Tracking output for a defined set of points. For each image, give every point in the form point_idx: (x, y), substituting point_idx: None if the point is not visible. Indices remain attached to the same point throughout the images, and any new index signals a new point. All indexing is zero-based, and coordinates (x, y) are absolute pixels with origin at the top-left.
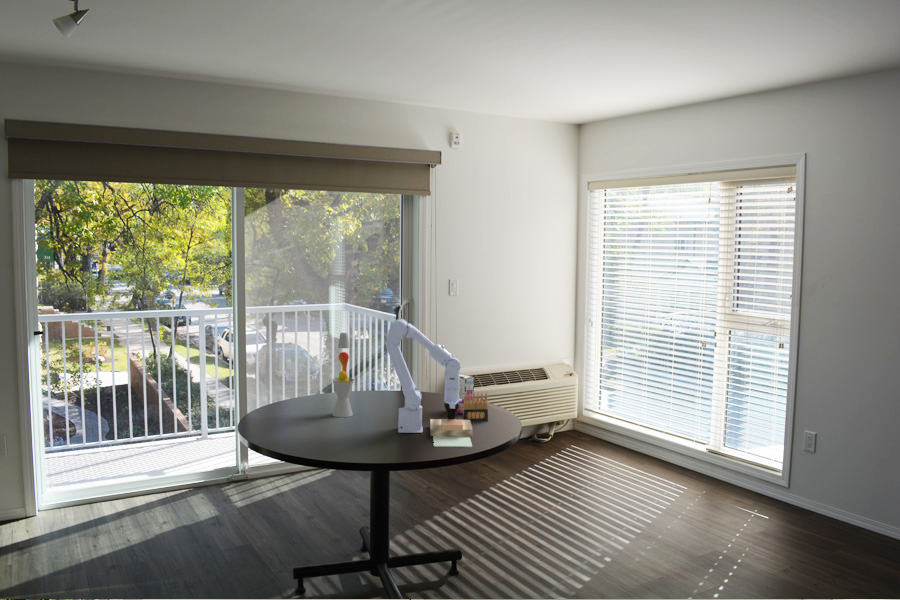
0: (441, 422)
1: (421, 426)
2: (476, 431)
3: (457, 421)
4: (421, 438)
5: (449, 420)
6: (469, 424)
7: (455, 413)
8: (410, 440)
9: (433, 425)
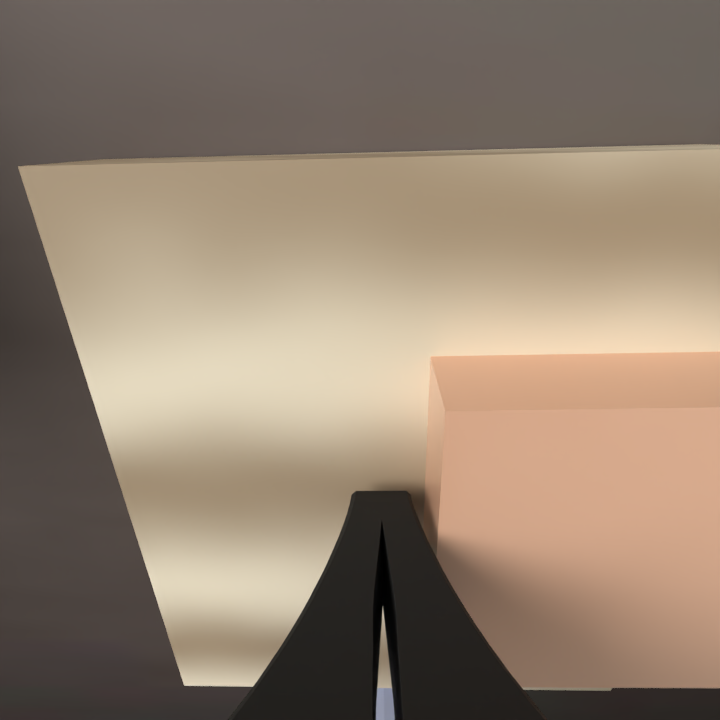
0: (598, 679)
1: (387, 709)
2: (342, 39)
3: (608, 490)
4: None
5: (520, 600)
6: (394, 198)
7: (485, 641)
8: (659, 716)
9: None
